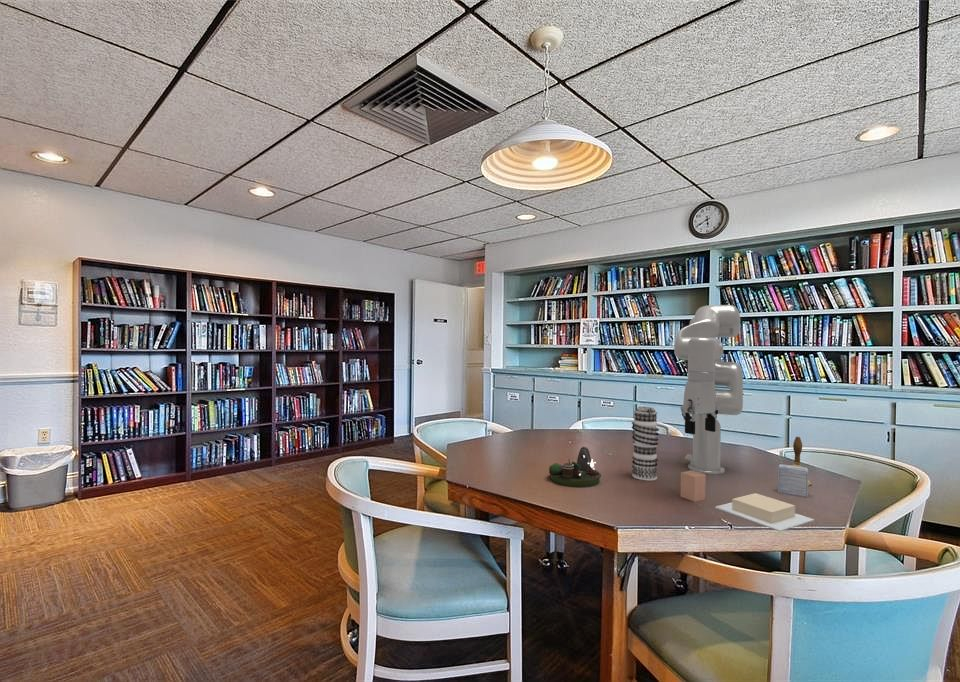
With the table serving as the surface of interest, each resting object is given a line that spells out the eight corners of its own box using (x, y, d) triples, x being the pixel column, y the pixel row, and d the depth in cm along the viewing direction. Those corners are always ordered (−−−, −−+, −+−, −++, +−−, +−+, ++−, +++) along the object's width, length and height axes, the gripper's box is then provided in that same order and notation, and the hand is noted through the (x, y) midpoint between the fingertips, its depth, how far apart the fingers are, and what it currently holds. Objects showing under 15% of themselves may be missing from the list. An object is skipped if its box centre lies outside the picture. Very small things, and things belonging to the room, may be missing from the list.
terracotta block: (680, 497, 141) (680, 472, 141) (691, 495, 143) (691, 470, 143) (694, 502, 136) (694, 476, 136) (705, 500, 138) (705, 474, 138)
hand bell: (783, 477, 163) (784, 433, 163) (812, 481, 158) (812, 436, 157) (781, 482, 156) (782, 437, 156) (810, 487, 151) (811, 440, 151)
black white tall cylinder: (626, 473, 166) (627, 405, 165) (651, 472, 166) (652, 405, 166) (637, 481, 156) (638, 409, 156) (662, 480, 157) (663, 409, 157)
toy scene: (610, 480, 157) (611, 450, 157) (581, 492, 145) (582, 459, 145) (568, 469, 170) (568, 441, 170) (538, 479, 158) (538, 449, 158)
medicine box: (807, 494, 145) (807, 467, 145) (808, 498, 141) (808, 470, 141) (778, 489, 149) (778, 463, 149) (778, 493, 146) (778, 466, 146)
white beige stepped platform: (715, 509, 131) (715, 496, 131) (748, 501, 138) (749, 488, 138) (780, 534, 115) (780, 518, 115) (814, 523, 122) (814, 508, 122)
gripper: (707, 375, 146) (706, 428, 146) (671, 377, 138) (671, 432, 138) (729, 377, 140) (728, 432, 140) (693, 379, 131) (692, 437, 131)
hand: (700, 432), depth 139 cm, fingers open, 9 cm apart
